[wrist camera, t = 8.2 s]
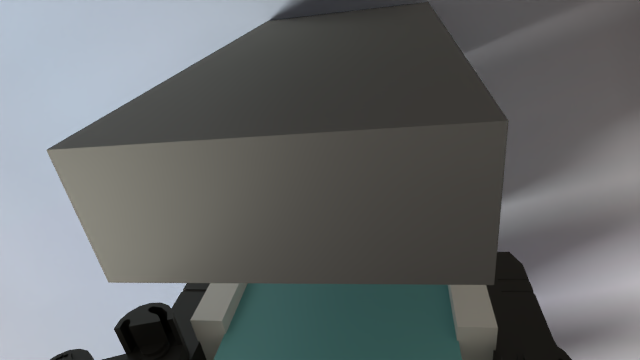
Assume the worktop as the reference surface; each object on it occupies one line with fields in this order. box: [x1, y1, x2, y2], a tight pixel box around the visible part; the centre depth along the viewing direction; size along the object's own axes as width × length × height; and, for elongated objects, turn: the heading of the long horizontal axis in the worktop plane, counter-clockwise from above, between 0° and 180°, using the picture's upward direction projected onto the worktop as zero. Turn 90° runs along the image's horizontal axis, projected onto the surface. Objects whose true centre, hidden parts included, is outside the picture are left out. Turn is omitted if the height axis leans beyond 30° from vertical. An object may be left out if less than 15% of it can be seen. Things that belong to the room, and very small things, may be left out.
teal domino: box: [214, 283, 462, 360], centre depth 11 cm, size 2×5×10 cm, turn 97°
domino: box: [47, 2, 508, 285], centre depth 9 cm, size 2×5×10 cm, turn 97°
